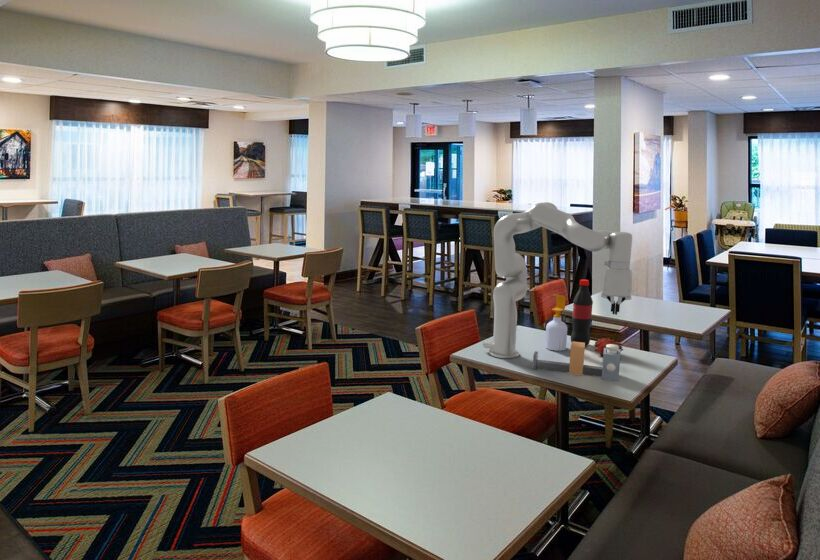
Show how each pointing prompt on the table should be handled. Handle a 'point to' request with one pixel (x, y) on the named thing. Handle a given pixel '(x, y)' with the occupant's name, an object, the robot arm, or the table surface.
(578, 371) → the wooden block
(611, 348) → the plunger
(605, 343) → the dragon fruit
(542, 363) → the rail
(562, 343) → the soap bottle
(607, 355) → the grey boxy piece
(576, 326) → the cola bottle
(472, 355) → the table surface
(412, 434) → the table surface
